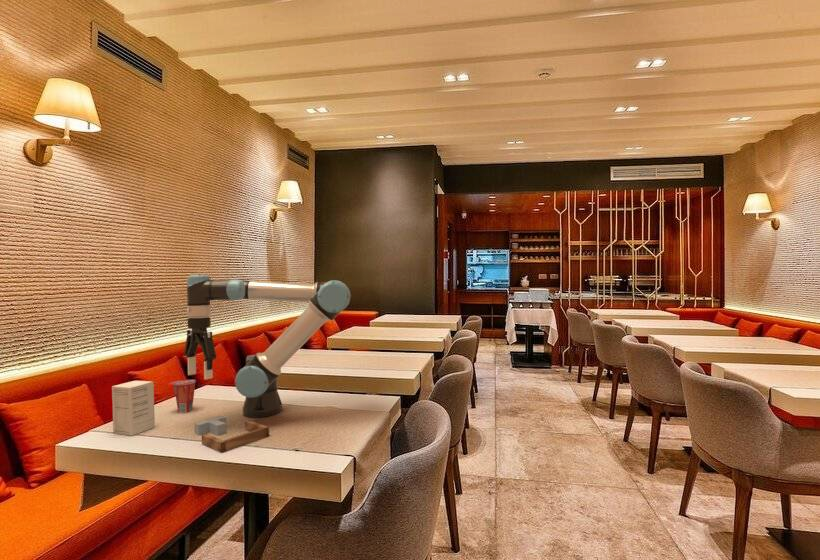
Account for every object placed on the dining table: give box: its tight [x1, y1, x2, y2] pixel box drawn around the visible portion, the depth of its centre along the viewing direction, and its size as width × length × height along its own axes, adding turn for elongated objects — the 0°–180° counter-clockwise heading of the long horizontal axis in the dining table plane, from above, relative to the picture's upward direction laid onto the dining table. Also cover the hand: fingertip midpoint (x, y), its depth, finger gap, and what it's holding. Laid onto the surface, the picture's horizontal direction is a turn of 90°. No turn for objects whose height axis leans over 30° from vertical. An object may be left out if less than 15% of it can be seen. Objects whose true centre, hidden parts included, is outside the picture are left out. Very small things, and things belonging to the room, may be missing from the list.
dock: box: [201, 420, 270, 454], centre depth 141 cm, size 12×17×3 cm
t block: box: [194, 415, 227, 437], centre depth 149 cm, size 9×10×4 cm
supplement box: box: [111, 380, 156, 437], centre depth 152 cm, size 10×9×17 cm
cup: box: [168, 379, 197, 414], centre depth 174 cm, size 9×8×12 cm
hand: (200, 376), depth 155 cm, fingers open, 11 cm apart
